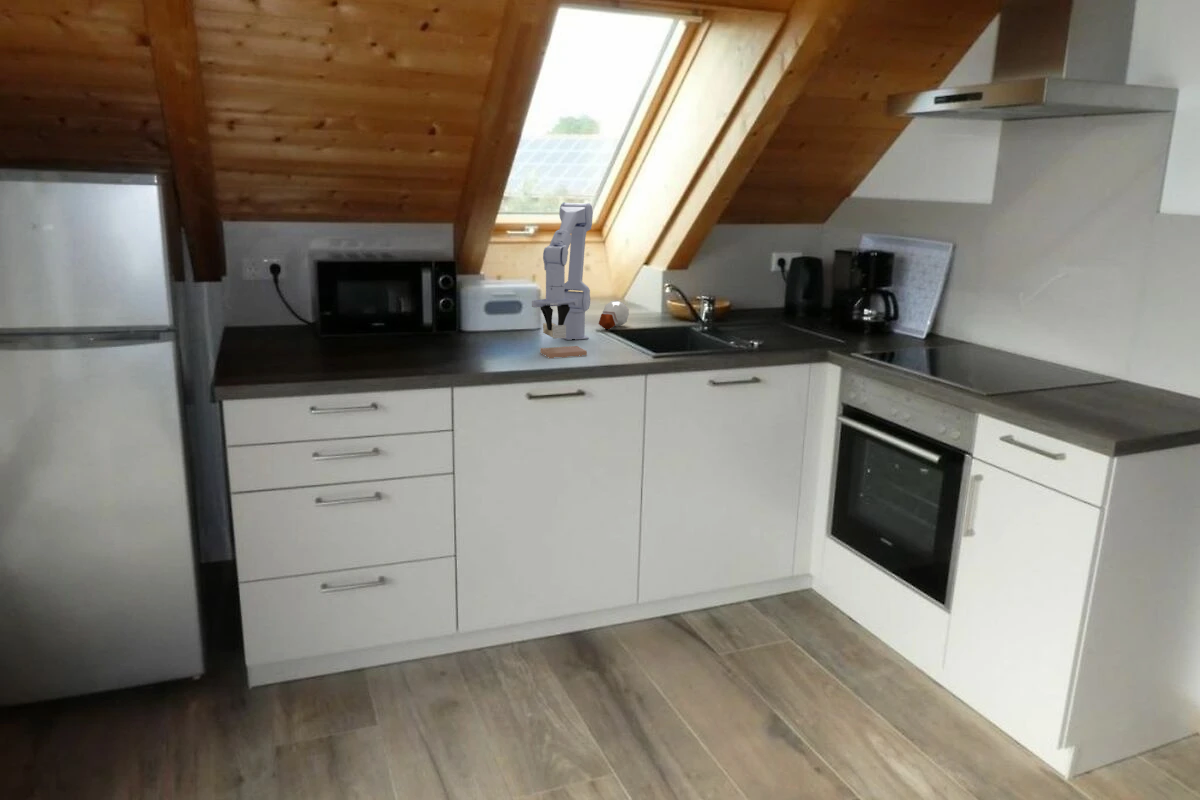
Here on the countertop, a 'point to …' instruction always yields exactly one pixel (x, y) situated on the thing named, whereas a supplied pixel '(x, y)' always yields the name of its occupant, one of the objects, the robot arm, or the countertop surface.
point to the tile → (563, 351)
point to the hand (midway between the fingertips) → (554, 329)
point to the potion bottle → (614, 315)
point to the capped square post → (555, 331)
